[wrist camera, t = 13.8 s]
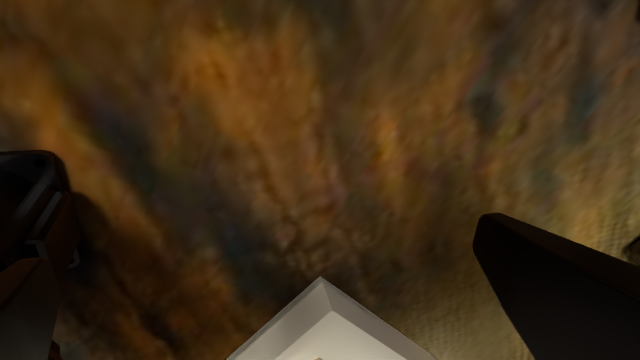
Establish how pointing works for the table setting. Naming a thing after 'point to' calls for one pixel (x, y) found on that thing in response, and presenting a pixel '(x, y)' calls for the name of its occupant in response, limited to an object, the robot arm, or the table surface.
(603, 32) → the table surface
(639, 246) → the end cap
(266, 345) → the white square tray
